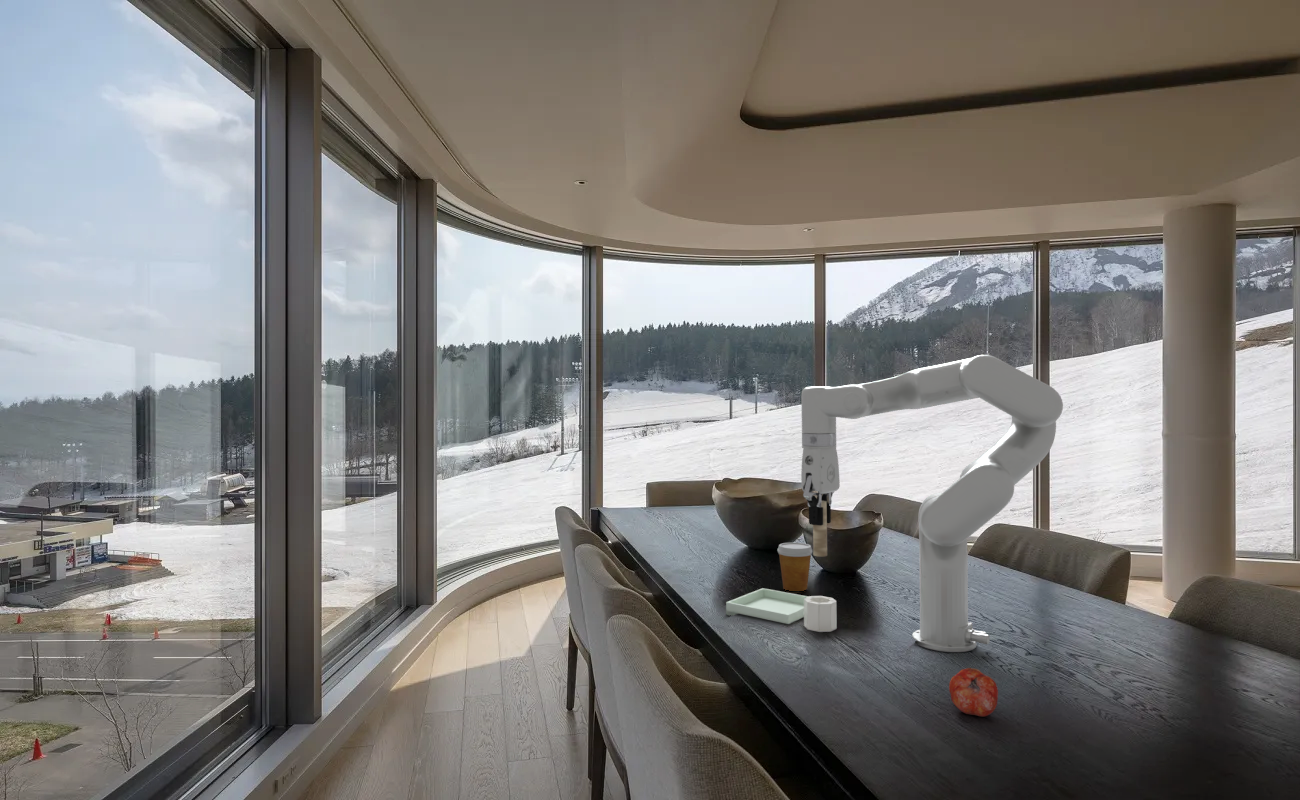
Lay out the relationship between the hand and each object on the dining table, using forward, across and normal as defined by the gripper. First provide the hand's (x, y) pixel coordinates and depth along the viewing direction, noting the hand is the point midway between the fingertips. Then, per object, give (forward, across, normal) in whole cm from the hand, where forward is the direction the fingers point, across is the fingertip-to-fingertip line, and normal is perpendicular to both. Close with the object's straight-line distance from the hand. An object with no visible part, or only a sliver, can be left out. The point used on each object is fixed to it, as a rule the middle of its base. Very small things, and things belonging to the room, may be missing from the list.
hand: (819, 522), depth 163 cm
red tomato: (+25, -23, -39) cm, 51 cm away
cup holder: (+24, 0, 0) cm, 24 cm away
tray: (+24, +6, +15) cm, 29 cm away
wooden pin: (+7, 0, 0) cm, 7 cm away
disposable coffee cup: (+24, +29, +22) cm, 44 cm away
